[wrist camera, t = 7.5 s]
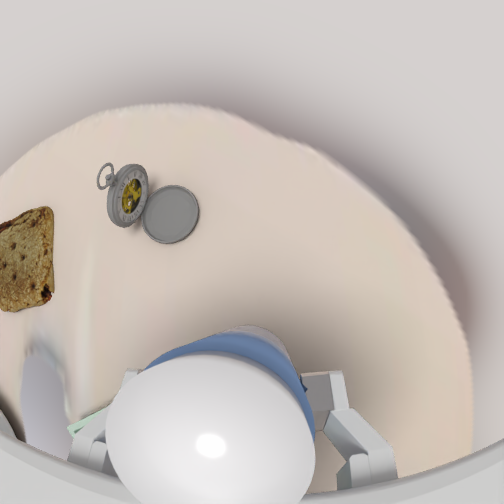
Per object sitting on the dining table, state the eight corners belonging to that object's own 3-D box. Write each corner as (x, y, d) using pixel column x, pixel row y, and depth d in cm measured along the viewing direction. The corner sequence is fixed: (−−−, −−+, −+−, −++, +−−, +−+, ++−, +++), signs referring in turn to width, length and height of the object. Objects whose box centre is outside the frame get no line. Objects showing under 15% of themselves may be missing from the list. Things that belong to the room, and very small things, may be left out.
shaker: (306, 378, 16) (364, 484, 5) (235, 419, 16) (182, 552, 4) (260, 309, 17) (238, 301, 6) (189, 352, 17) (63, 404, 5)
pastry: (32, 345, 31) (17, 346, 28) (-16, 274, 34) (-29, 271, 31) (85, 240, 33) (72, 234, 31) (28, 184, 36) (16, 177, 33)
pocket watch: (206, 233, 32) (177, 200, 22) (136, 257, 32) (86, 235, 22) (189, 169, 34) (161, 120, 24) (126, 193, 34) (81, 156, 24)
